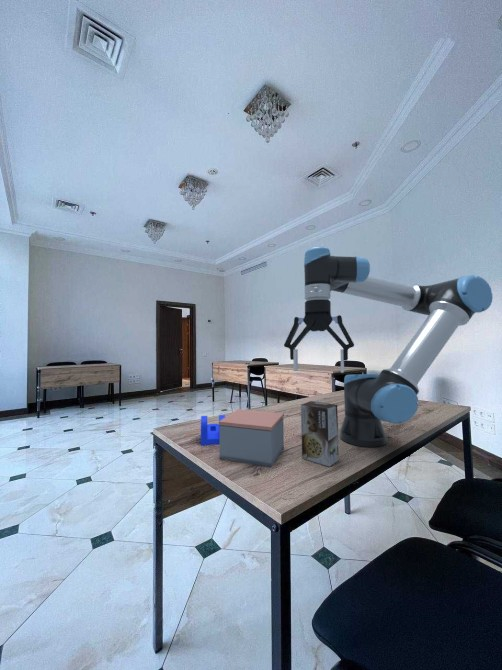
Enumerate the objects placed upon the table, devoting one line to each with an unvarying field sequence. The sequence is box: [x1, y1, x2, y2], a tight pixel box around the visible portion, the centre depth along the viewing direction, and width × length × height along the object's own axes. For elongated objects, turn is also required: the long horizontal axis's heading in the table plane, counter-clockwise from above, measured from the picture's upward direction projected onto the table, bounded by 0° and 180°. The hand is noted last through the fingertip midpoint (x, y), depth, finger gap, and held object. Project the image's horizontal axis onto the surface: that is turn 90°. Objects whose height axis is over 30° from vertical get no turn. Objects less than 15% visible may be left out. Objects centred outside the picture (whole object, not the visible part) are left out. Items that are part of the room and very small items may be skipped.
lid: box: [218, 408, 285, 431], centre depth 86 cm, size 16×14×1 cm
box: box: [219, 417, 285, 468], centre depth 86 cm, size 16×14×10 cm
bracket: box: [200, 414, 226, 446], centre depth 103 cm, size 18×8×9 cm, turn 8°
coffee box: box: [300, 400, 340, 467], centre depth 82 cm, size 9×6×16 cm
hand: (318, 371), depth 82 cm, fingers open, 13 cm apart
